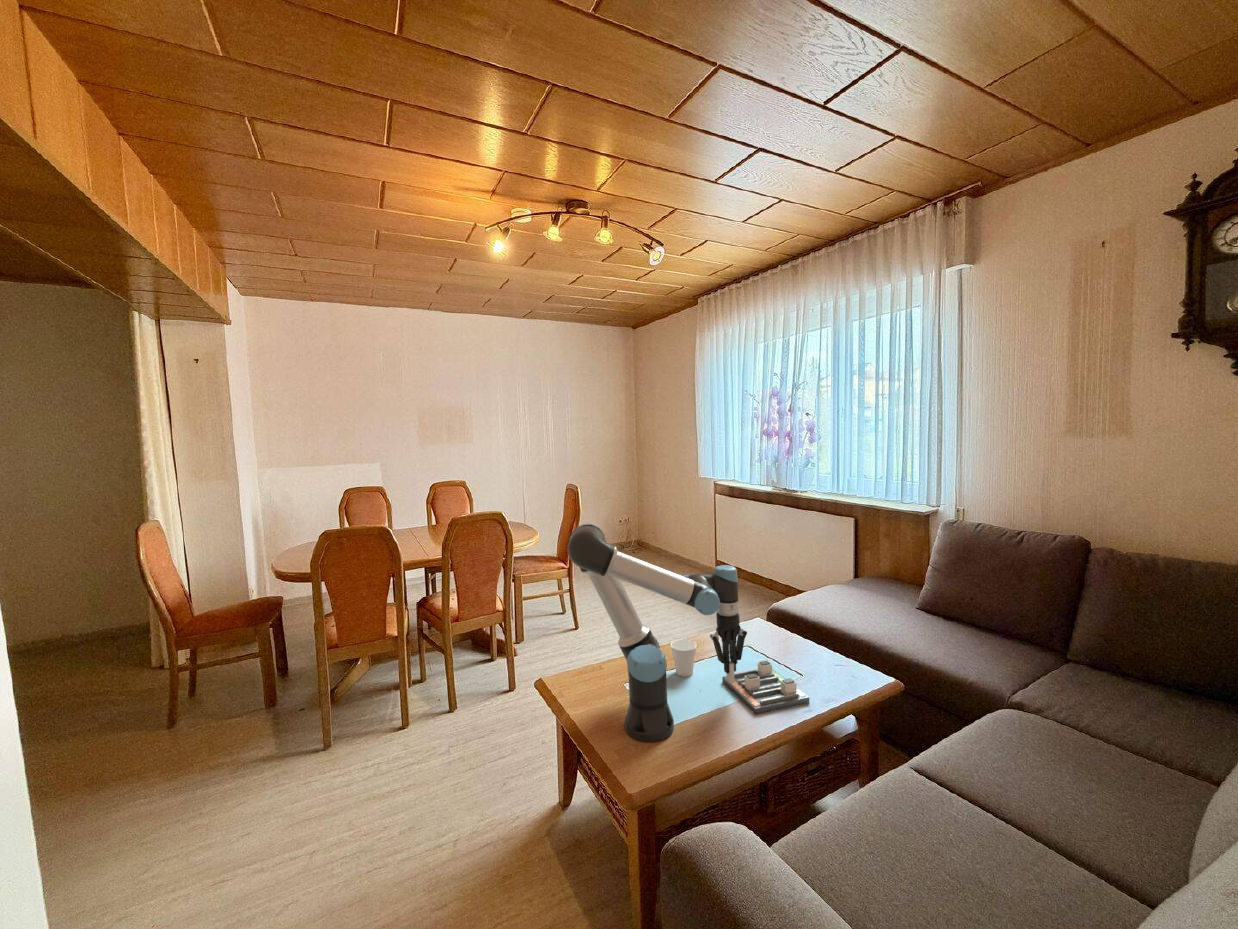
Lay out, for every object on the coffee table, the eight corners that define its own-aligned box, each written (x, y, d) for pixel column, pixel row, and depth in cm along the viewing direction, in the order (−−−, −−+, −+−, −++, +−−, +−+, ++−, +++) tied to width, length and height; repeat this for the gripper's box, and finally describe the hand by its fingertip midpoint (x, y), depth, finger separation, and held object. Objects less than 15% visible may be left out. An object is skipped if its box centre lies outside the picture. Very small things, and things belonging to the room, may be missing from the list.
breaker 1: (749, 691, 164) (749, 678, 164) (744, 687, 167) (744, 674, 167) (760, 689, 165) (759, 676, 165) (755, 685, 168) (754, 672, 168)
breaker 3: (786, 696, 160) (785, 683, 160) (780, 692, 163) (780, 679, 163) (796, 694, 161) (796, 681, 161) (791, 690, 164) (790, 677, 164)
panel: (755, 714, 154) (755, 705, 154) (722, 682, 175) (722, 673, 175) (809, 703, 159) (809, 693, 159) (770, 673, 181) (770, 664, 180)
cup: (697, 680, 177) (696, 651, 177) (670, 679, 179) (669, 649, 179) (698, 668, 187) (697, 640, 186) (672, 666, 189) (671, 638, 188)
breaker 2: (762, 677, 173) (762, 665, 173) (757, 673, 176) (757, 661, 176) (772, 675, 174) (772, 663, 174) (767, 671, 177) (767, 659, 177)
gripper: (715, 619, 157) (718, 690, 158) (750, 613, 160) (753, 682, 162) (704, 611, 164) (708, 679, 165) (739, 606, 168) (742, 672, 169)
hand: (730, 681), depth 163 cm, fingers closed
